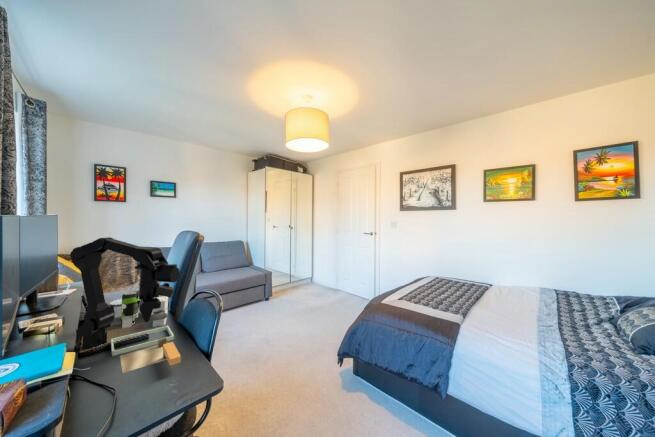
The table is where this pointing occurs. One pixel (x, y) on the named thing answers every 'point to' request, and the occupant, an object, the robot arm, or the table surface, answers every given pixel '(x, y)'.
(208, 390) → the table surface
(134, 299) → the beverage can
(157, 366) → the table surface
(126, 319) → the lead
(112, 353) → the tray
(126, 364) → the tie board
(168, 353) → the bar
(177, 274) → the robot arm
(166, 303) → the ink box
